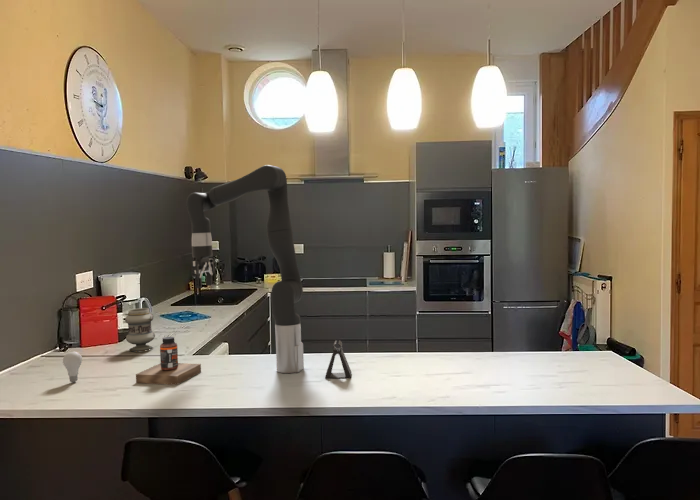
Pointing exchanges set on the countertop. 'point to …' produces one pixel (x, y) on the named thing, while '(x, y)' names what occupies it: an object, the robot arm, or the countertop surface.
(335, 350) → the black triangular frame
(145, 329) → the apothecary jar
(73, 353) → the lightbulb
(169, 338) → the supplement bottle
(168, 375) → the walnut base
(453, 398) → the countertop surface
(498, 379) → the countertop surface
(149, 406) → the countertop surface
